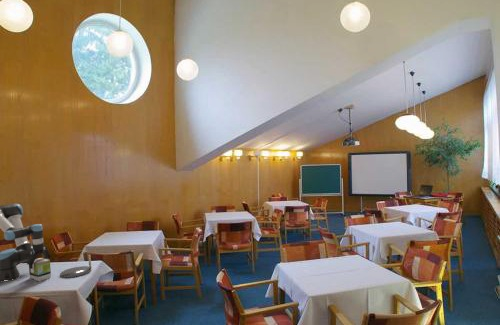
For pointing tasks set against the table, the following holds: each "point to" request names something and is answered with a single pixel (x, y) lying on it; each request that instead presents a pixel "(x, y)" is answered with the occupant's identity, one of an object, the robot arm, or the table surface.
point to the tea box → (40, 269)
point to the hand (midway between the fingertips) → (40, 269)
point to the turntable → (76, 271)
